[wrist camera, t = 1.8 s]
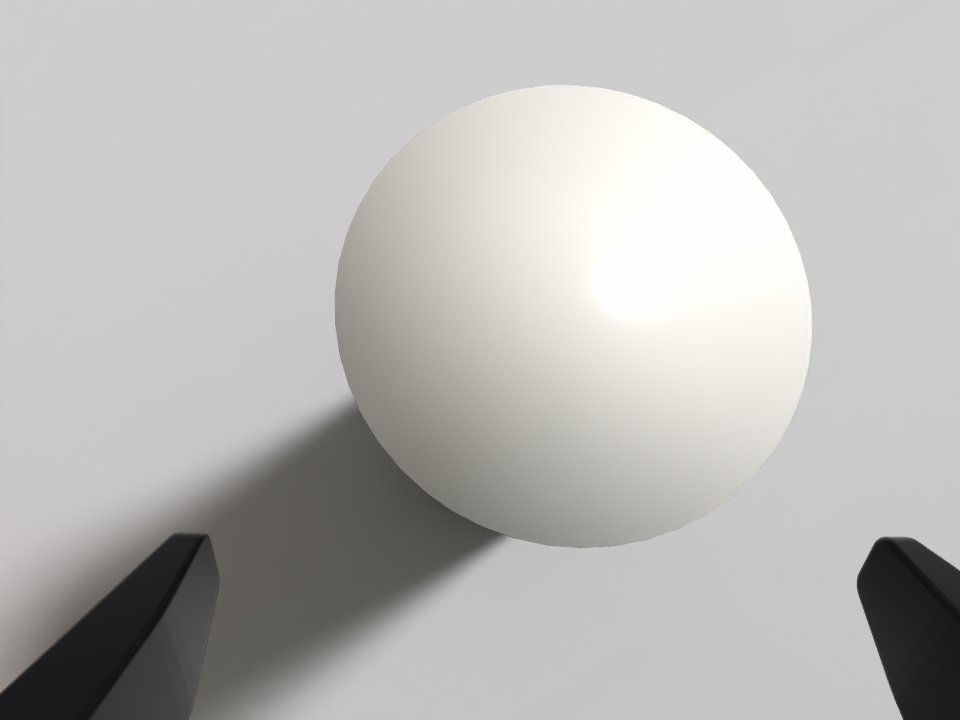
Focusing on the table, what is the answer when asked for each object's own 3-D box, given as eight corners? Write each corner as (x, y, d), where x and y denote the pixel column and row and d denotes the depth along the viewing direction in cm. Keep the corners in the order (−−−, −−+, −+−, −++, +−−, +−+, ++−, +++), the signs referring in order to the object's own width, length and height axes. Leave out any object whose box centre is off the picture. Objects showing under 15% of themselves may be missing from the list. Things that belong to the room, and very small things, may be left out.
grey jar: (600, 524, 20) (833, 550, 8) (395, 522, 19) (319, 545, 8) (595, 327, 21) (792, 94, 9) (403, 322, 20) (348, 75, 9)
